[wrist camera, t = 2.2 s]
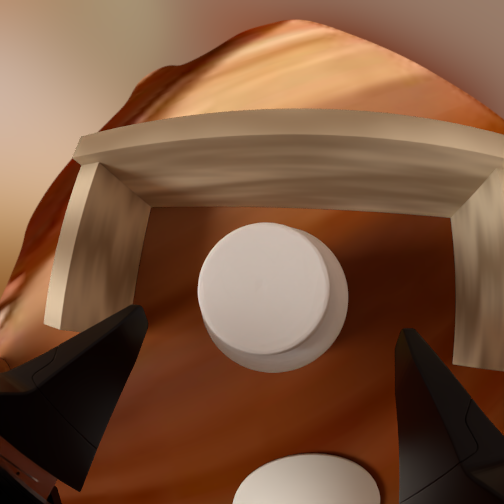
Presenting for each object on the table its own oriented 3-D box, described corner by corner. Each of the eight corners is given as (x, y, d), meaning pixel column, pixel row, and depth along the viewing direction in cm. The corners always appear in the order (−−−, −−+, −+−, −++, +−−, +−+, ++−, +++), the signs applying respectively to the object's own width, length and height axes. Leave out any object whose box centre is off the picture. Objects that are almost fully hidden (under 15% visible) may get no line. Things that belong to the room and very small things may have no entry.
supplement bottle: (352, 312, 17) (398, 283, 8) (287, 376, 17) (257, 422, 7) (289, 251, 19) (263, 166, 10) (227, 312, 19) (141, 284, 9)
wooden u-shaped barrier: (471, 362, 14) (545, 368, 7) (112, 331, 20) (31, 321, 13) (464, 199, 17) (516, 138, 10) (139, 189, 23) (80, 136, 16)
